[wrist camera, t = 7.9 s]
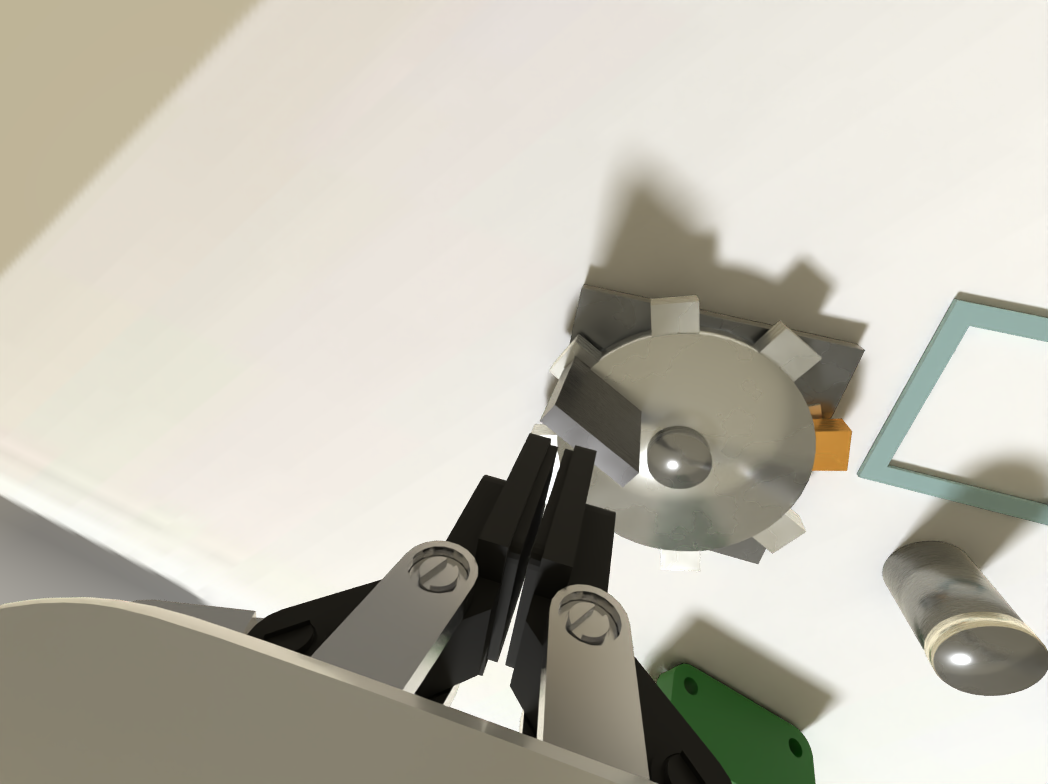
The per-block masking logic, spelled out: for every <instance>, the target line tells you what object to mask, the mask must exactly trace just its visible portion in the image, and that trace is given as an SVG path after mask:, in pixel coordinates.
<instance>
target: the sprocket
mask: <svg viewBox="0 0 1048 784" xmlns="http://www.w3.org/2000/svg"><path fill="white" fill-rule="evenodd" d="M821 359H822V358H821V357H820V356H819V355H818V354H817V353H816V351H815V350H814V349H813V348H811V347H810V346H809V345H808V344H807V343H806V342H804V341H803V340H802V339H801V338H800V337H799V336H797V335H796V334H795V333H794V332H793V331H792V330H790V329H789V328H788V327H787V326H786V325H785V324H784V323H782V322H781V321H780V320H779V321H778V322H777V323H776V324H775V325H774V326H773V327H772V328H771V329H770V330H768V331H767V332H766V333H765V334H764V335H763V336H762V337H761V338H760V339H758V340H757V341H756V342H755V343H754V344H753V343H751V342H749V341H747V340H745V339H744V338H741V337H739V336H736V335H734V334H731V333H728V332H726V331H721V330H717V329H713V328H709V327H700V326H699V299H698V297H697V295H690V296H678V297H666V298H654V299H651V329H650V330H646V331H643V332H639V333H637V334H634V335H632V336H629V337H626V338H624V339H622V340H621V341H619V342H617V343H615V344H613V345H611V346H610V347H608V348H607V349H606V350H604V351H603V352H602V353H601V352H600V351H599V350H598V349H597V348H595V347H594V346H593V345H592V344H591V343H589V342H588V341H587V340H586V339H585V338H583V337H582V336H581V335H580V334H578V335H577V337H576V338H575V339H574V340H573V341H572V342H571V343H570V345H569V346H568V347H567V348H566V349H565V350H564V351H563V353H562V354H561V355H560V356H559V357H558V358H557V359H556V361H555V362H554V363H553V365H552V367H551V369H550V371H549V372H550V373H551V374H553V375H554V376H555V377H556V378H557V379H559V380H558V382H557V384H556V387H555V389H554V391H553V393H552V395H551V398H550V400H549V402H548V404H547V406H546V409H545V411H544V413H543V415H542V417H541V419H540V421H541V422H542V423H543V424H535V425H534V427H533V429H532V432H531V433H533V434H536V435H540V436H544V437H547V438H551V445H555V446H558V452H557V456H556V460H555V465H554V469H559V466H560V463H561V460H562V456H563V453H564V450H565V448H566V449H569V450H573V451H574V447H575V445H577V446H581V447H584V448H588V449H592V450H596V451H597V453H596V458H595V463H594V468H593V472H592V477H591V482H590V487H589V492H588V496H587V501H586V504H589V505H593V506H596V507H600V508H603V509H607V510H610V511H614V512H616V520H615V529H614V532H615V533H616V534H618V535H620V536H622V537H624V538H626V539H629V540H631V541H633V542H636V543H639V544H642V545H646V546H649V547H653V548H658V549H661V569H662V570H679V571H697V572H700V551H704V550H712V549H717V548H722V547H727V546H730V545H733V544H736V543H739V542H742V541H744V540H746V539H749V538H751V537H753V538H754V539H755V540H757V541H758V542H759V543H760V544H762V545H763V546H764V547H765V548H766V549H768V550H769V551H770V552H771V553H774V552H776V551H777V550H779V549H780V548H782V547H784V546H785V545H787V544H788V543H790V542H791V541H793V540H794V539H796V538H797V537H799V536H800V535H802V534H803V533H805V532H806V530H805V528H804V526H803V523H802V521H801V519H800V516H799V515H798V514H797V513H795V512H794V511H793V510H792V509H791V507H792V506H793V505H794V503H795V502H796V501H797V499H798V498H799V497H800V495H801V494H802V492H803V490H804V488H805V486H806V484H807V482H808V480H809V477H810V475H811V472H812V471H847V468H848V459H849V451H850V443H851V435H852V431H851V429H850V428H849V427H848V426H847V424H846V423H845V422H844V421H843V419H842V418H841V419H812V416H811V413H810V410H809V407H808V405H807V403H806V401H805V400H804V398H803V396H802V394H801V392H800V391H799V389H798V388H797V386H796V385H795V384H794V381H796V380H797V379H798V378H799V377H800V376H802V375H803V374H804V373H805V372H806V371H808V370H809V369H810V368H811V367H812V366H814V365H815V364H816V363H817V362H819V361H820V360H821Z"/></svg>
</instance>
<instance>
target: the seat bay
mask: <svg viewBox="0 0 1048 784" xmlns="http://www.w3.org/2000/svg"><path fill="white" fill-rule="evenodd" d="M969 326H973V327H978V328H983V329H988V330H992V331H997V332H1002V333H1007V334H1012V335H1016V336H1021V337H1026V338H1031V339H1036V340H1040V341H1045V342H1048V318H1047V317H1042V316H1037V315H1032V314H1027V313H1022V312H1017V311H1012V310H1007V309H1002V308H997V307H992V306H987V305H982V304H977V303H972V302H967V301H962V300H957V299H954V300H953V302H952V304H951V306H950V307H949V309H948V311H947V313H946V315H945V316H944V318H943V320H942V322H941V324H940V325H939V327H938V329H937V331H936V333H935V334H934V336H933V338H932V340H931V342H930V343H929V345H928V347H927V349H926V351H925V352H924V354H923V356H922V358H921V360H920V361H919V363H918V365H917V367H916V369H915V370H914V372H913V374H912V376H911V378H910V379H909V381H908V383H907V385H906V387H905V388H904V390H903V392H902V394H901V396H900V397H899V399H898V401H897V403H896V405H895V406H894V408H893V410H892V412H891V414H890V415H889V417H888V419H887V421H886V423H885V424H884V426H883V428H882V430H881V432H880V433H879V435H878V437H877V439H876V441H875V442H874V444H873V446H872V448H871V450H870V451H869V453H868V455H867V457H866V459H865V460H864V462H863V464H862V466H861V468H860V469H859V471H858V473H857V475H858V477H861V478H864V479H868V480H872V481H876V482H880V483H884V484H888V485H892V486H896V487H900V488H904V489H908V490H911V491H915V492H919V493H923V494H927V495H931V496H935V497H939V498H943V499H947V500H951V501H955V502H959V503H962V504H966V505H970V506H974V507H978V508H982V509H986V510H990V511H994V512H998V513H1002V514H1006V515H1009V516H1013V517H1017V518H1021V519H1025V520H1029V521H1033V522H1037V523H1041V524H1045V525H1048V505H1047V504H1043V503H1039V502H1035V501H1031V500H1027V499H1023V498H1019V497H1015V496H1011V495H1007V494H1003V493H999V492H995V491H991V490H987V489H983V488H979V487H975V486H971V485H967V484H963V483H959V482H955V481H951V480H947V479H943V478H939V477H935V476H931V475H927V474H923V473H919V472H915V471H911V470H907V469H903V468H899V467H895V466H891V465H888V464H889V463H890V461H891V459H892V458H893V456H894V454H895V452H896V451H897V449H898V447H899V446H900V444H901V442H902V440H903V439H904V437H905V435H906V434H907V432H908V430H909V428H910V427H911V425H912V423H913V422H914V420H915V418H916V416H917V415H918V413H919V411H920V410H921V408H922V406H923V404H924V403H925V401H926V399H927V398H928V396H929V394H930V392H931V391H932V389H933V387H934V386H935V384H936V382H937V380H938V379H939V377H940V375H941V374H942V372H943V370H944V368H945V367H946V365H947V363H948V362H949V360H950V358H951V357H952V355H953V353H954V351H955V350H956V348H957V346H958V345H959V343H960V341H961V339H962V338H963V336H964V334H965V333H966V331H967V329H968V327H969Z"/></svg>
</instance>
